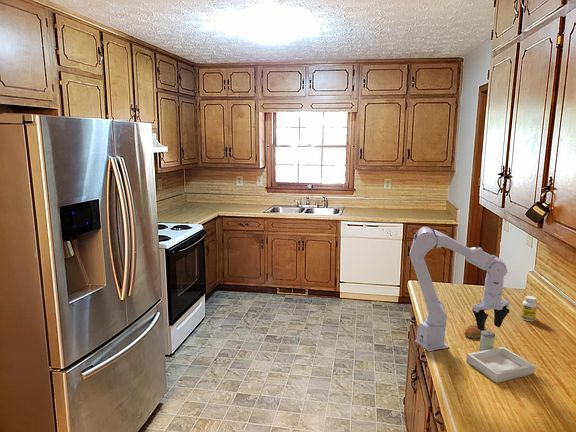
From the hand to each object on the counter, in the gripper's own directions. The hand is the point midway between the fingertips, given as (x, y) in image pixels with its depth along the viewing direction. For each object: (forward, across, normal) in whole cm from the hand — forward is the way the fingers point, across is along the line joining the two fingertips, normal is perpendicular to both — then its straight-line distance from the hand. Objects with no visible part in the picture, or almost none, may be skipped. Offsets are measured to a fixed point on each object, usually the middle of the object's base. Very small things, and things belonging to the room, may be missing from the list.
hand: (488, 327), depth 148 cm
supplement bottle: (+9, +38, +16) cm, 42 cm away
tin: (+9, 0, 0) cm, 9 cm away
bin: (+9, -4, -10) cm, 14 cm away
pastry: (+10, +6, +12) cm, 16 cm away
